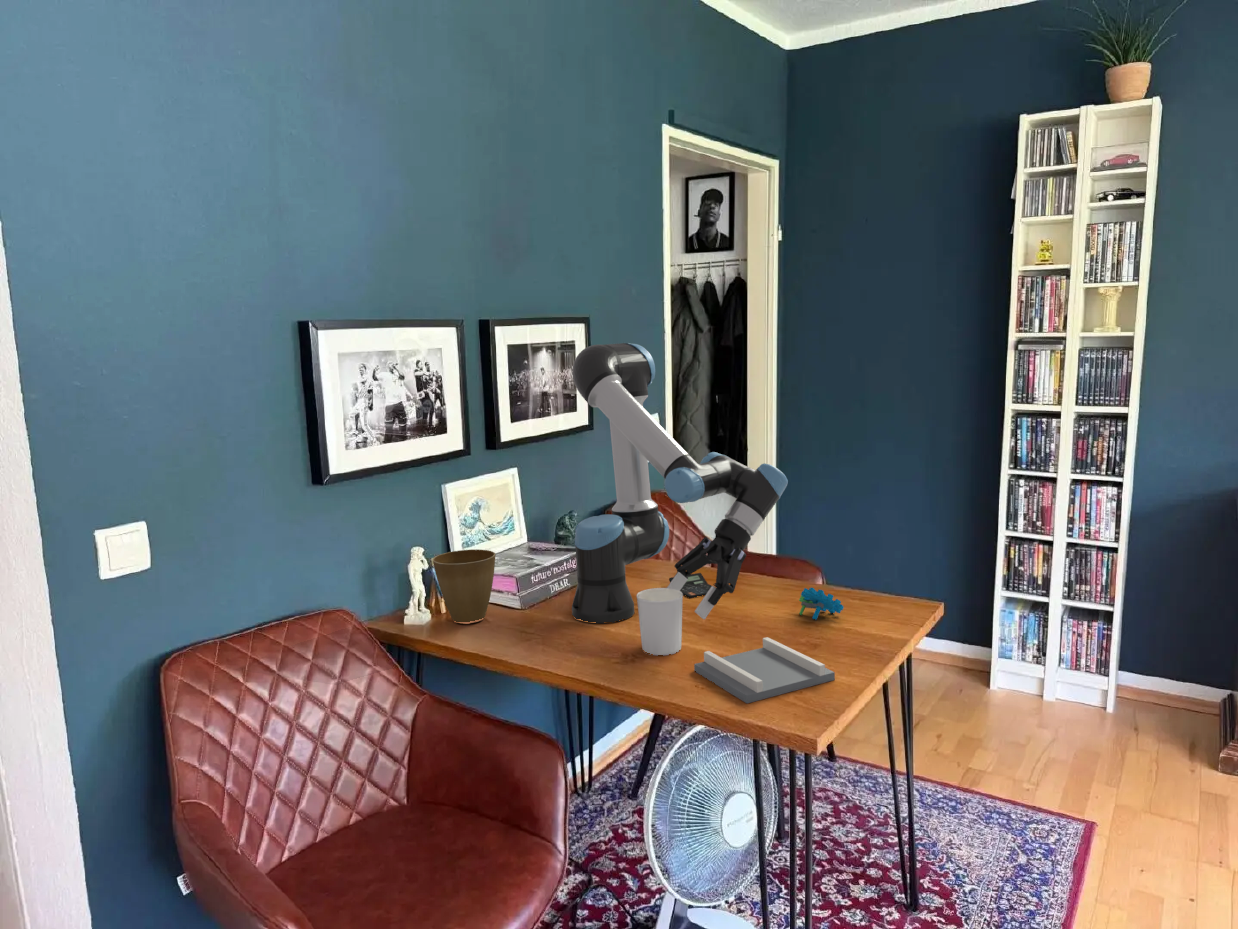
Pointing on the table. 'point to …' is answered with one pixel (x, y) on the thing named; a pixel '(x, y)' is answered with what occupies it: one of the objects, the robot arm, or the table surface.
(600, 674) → the table surface
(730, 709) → the table surface
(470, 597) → the plant pot
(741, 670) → the grey tray with rails
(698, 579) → the calculator
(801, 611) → the gear
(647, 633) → the candle holder
